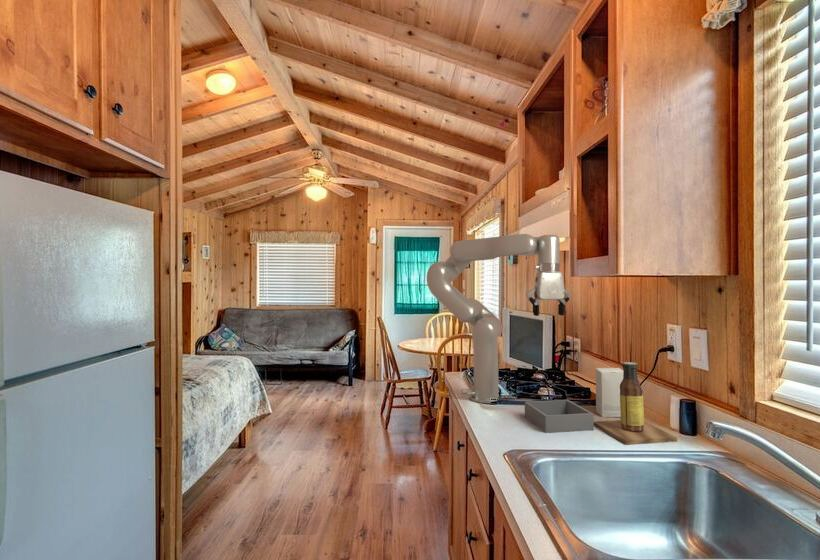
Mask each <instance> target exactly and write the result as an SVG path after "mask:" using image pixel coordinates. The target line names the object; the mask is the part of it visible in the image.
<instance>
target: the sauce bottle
mask: <svg viewBox="0 0 820 560" xmlns="http://www.w3.org/2000/svg"><path fill="white" fill-rule="evenodd" d="M621 366H622V370H623V374H624V375H623V380H622V382H621V384H620V411H621V417H620V420H621V423H622V428H623V429H626V430H628V431H633V432H640V431H643V430H644V422H645V412H644V411H645V410H644V393H643V389H642V386H641V383H640V380H639V379H638V378H639V377H638V363H636V362H634V361H633V362H631V361H630V362H629V361H624V362H622V365H621Z"/></svg>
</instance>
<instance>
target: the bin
mask: <svg viewBox="0 0 820 560" xmlns="http://www.w3.org/2000/svg"><path fill="white" fill-rule="evenodd" d="M594 415H595V414H594V413H593V412H591V411H589V410H588V409H587V408H584V407H582V406H580V405H578V404H577V403H575V402H573V401H571V400H569V399H558V400H557V399H554V400H552V399H551V400H537V401H536V400H532V401H524V417H525V418H526V419H528V421H530V422H531V423H532V424H534V425H535V426H536V427H538V429H540V430H541V431H542V432H544V433H546V434H548V433H549V434H550V433H566V432H580V431H581V432H583V431H594V429H595V426H594V422H595V421H594V417H595V416H594Z"/></svg>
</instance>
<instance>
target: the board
mask: <svg viewBox="0 0 820 560" xmlns="http://www.w3.org/2000/svg"><path fill="white" fill-rule="evenodd" d="M594 428H597V429H599V430H600V431H601V432H604V433H605V434H607V435H609V436H610V437H612V438H613V439H616V440H617V441H618V442H620V443H622V444H624V445H625V446H628V445H629V446H630V445H643V444H658V442H661V443H669V442H668V441H676V442H678V437H677V436H675V435H674V434H671V433H669V432H668V431H665V430H663V429H661V428H659V427H656V426H655V425H652V424H650V423H648V422H646V421H644V430H643V431H640V432H633V431H628V430H626V429H623V428H622V423H621V419H618V420H615V419H614V420H601V421H598V420H597V421H594Z"/></svg>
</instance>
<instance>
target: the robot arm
mask: <svg viewBox="0 0 820 560" xmlns="http://www.w3.org/2000/svg"><path fill="white" fill-rule="evenodd" d="M560 243H561V240H560V236H558V235H557V234H556V235H555V234H544V235H542V234H541V235H540V236H533V235H531V234H527V233H518V234H509V235H500V236H493V237H491V236H490V237H483V238H473V239H464V240H458V241H455V242H453V243H452V244H451V246H450V249H449V253H450V256H449V257H448V258H447V259H446V261H436V262H434V263H432V264H431V265H430V266H429V267H428V269H427V273H426V284H427V288H428V290H429V292H430V293H431V295H433V296H434V297H435V298H436V300H437V301H439V302H440V304H442V305H443V307H445V308H446V310H448V311H449V312H450V313H451V315H453V316H454V317H455V318H456V319H457V320H458V321H459V322H461V323H464V324H467V323H469V324H470V325H471V326H472V329H471V338H472V349H473V351H472V352H473V385H472V386H471V387H470V388H468V389H467V388H466V389H465V388H464V389H462V388H461V395H466V396H469V399H470V401H473V402H475V403H481V404H492V403H491V402H494V401H497V399H496V398H498V397H499V344H498V338H499V337H500V336H501V334H502V332H503V323H502V322H501V320H500V319H499V318H498V317H497V316H496V315H495V314H494V313H493V312H492V311H491V310H490V309H488V308H487V307H486V306H485V305H484V304H483V303H482V302H481V301H479V300H477V299H475V298H472V297H471V298H470V297H469V298H468V297H466V296H465V295H464V294H463V292H461V291H460V290H459V289H458V288H456V287H455V286H454V285H453V284H452V283H451V282H453V281H454V280H456V279H457V278H458V277H459V276H460V275H461V274H462V273H463V271H464V270H465V269H467V267H468V266H469V265H470V264H471V263H472V262H475V261H477V262H478V261H489V260H490V261H491V260H495V259H498V258H501V257H509V256H526V257H531V256H537V262H538V263H537V265H534V269H535V270H537V272H536V273H535V277H534V287H533V288H532V289H530V290H529V291H527V292H525V296H526V298H527V300H528V301H529V302H530V303H531V305H532V314H533V316H535V317H539V316H540V305H539V303H540V302H541V301H542V300H544V301H545V300H550V301H551V300H552V301H553V300H554V301H556V300H557V302H558V305H557V309H558V310H557V311H558V315H559V316H565V313H566V310H565V309H566V305H567V303H568V302H569V301H570V298H571V297H572V295H573V294H572V292H571V291H569V290H568V289H565V282H564V281H565V280H564V276H563V272H561V270H560V267H561V265H560V261H561V260H560V258H561V257H560V255H561V254H560V252H561V251H560V249H561V247H560ZM533 294H534V295H533ZM532 295H533V296H534V297H532ZM489 399H490V400H489ZM491 399H496V400H491ZM498 400H499V399H498Z"/></svg>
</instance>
